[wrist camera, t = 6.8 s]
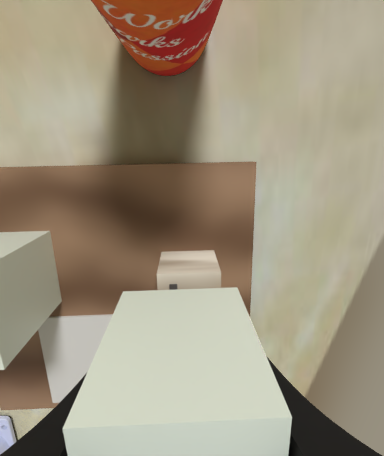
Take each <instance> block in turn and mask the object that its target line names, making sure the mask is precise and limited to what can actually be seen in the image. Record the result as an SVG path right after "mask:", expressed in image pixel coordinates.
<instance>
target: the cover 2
mask: <svg viewBox="0 0 384 456" xmlns="http://www.w3.org/2000/svg"><path fill="white" fill-rule="evenodd" d="M291 423H292V416H291V413H290V411H289V409H288V406H287V404H286V402H285V399H284V397H283V394H282V392H281V390H280V387H279V385H278V383H277V380H276V378H275V376H274V373H273V371H272V368H271V366H270V364H269V361H268V359H267V357H266V354H265V352H264V349H263V347H262V345H261V342H260V340H259V338H258V335H257V333H256V331H255V328H254V326H253V323H252V321H251V319H250V316H249V314H248V312H247V309H246V307H245V305H244V302H243V300H242V297H241V295H240V293H239V290H238V288H237V287H232V288H205V289H177V290H149V291H123V293H122V295H121V297H120V300H119V302H118V304H117V306H116V309H115V311H114V313H113V315H112V318H111V320H110V322H109V324H108V327H107V329H106V331H105V334H104V336H103V338H102V340H101V343H100V345H99V347H98V349H97V352H96V354H95V356H94V358H93V361H92V363H91V365H90V368H89V370H88V372H87V374H86V377H85V379H84V381H83V383H82V386H81V388H80V390H79V392H78V395H77V397H76V399H75V402H74V404H73V406H72V408H71V411H70V413H69V415H68V417H67V420H66V422H65V424H64V426H63V434H64V439H65V445H66V450H67V455H68V456H288V454H289V444H290V433H291Z"/></svg>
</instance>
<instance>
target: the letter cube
mask: <svg viewBox="0 0 384 456" xmlns="http://www.w3.org/2000/svg"><path fill="white" fill-rule="evenodd" d="M205 288H221V270H220V267H219V264H218V261H217V258H216V255H215V252H214V250H202V251H170V252H161V257H160V261H159V266H158V270H157V289H158V290H177V289H205Z"/></svg>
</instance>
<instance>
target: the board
mask: <svg viewBox="0 0 384 456" xmlns="http://www.w3.org/2000/svg"><path fill="white" fill-rule="evenodd" d="M255 181H256V162H219V163H174V164H129V165H84V166H38V167H0V232H28V231H50V233H51V239H52V245H53V251H54V257H55V263H56V269H57V275H58V281H59V287H60V293H61V299H62V302H61V303H60V304H59V305H58V306H57V308H56V309H55V310H54V311H53V312H52V314H51V315H50V316H49V317H55V316H82V315H109V314H113V313H114V311H115V309H116V306H117V304H118V302H119V300H120V297H121V295H122V293H123V291H149V290H158V289H157V270H158V266H159V261H160V257H161V252H170V251H202V250H214V252H215V255H216V258H217V261H218V264H219V267H220V270H221V288H232V287H237V288H238V290H239V293H240V295H241V297H242V300H243V302H244V305H245V307H246V309H247V312H248V314H249V316H250V302H251V278H252V253H253V229H254V205H255ZM58 404H59V403H53V402H52V397H51V392H50V387H49V382H48V377H47V372H46V367H45V362H44V357H43V352H42V347H41V342H40V337H39V332H38V330H37V331H36V333H35V334H34V335H33V336H32V337H31V339H30V340H29V341H28V342H27V343H26V345H25V346H24V347H23V348H22V349H21V351H20V352H19V353H18V354H17V355H16V356H15V358H14V359H13V360H12V361H11V362H10V364H9V365H8V366H7V367H6V368H5V370H0V408H1V410H17V409H38V408H55V407H56V406H57V405H58Z"/></svg>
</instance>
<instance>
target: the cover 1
mask: <svg viewBox="0 0 384 456" xmlns="http://www.w3.org/2000/svg"><path fill="white" fill-rule="evenodd" d="M61 302H62V299H61V293H60V287H59V281H58V275H57V269H56V263H55V257H54V251H53V245H52V239H51V233H50V231H28V232H0V370H5V368H6V367H7V366H8V365H9V364H10V362H11V361H12V360H13V359H14V358H15V356H16V355H17V354H18V353H19V352H20V351H21V349H22V348H23V347H24V346H25V345H26V343H27V342H28V341H29V340H30V339H31V337H32V336H33V335H34V334H35V333H36V331H37V330H38V329H39V328H40V327H41V325H42V324H43V323H44V322H45V321H46V319H47V318H48V317H49V316H50V315H51V314H52V312H53V311H54V310H55V309H56V308H57V306H58V305H59V304H60V303H61Z"/></svg>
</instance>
